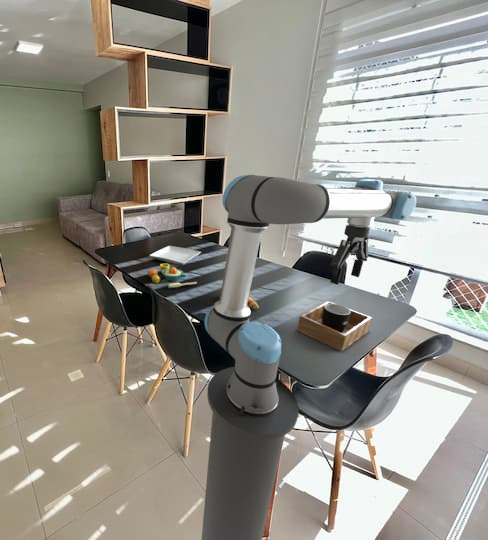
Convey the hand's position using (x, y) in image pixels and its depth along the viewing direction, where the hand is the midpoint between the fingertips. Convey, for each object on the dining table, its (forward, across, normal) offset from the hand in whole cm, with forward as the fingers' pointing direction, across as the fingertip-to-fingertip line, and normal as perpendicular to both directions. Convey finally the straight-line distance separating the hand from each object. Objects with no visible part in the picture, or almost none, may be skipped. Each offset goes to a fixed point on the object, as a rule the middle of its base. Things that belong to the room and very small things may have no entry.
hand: (344, 279), depth 110 cm
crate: (+22, +1, +1) cm, 22 cm away
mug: (+22, +1, +1) cm, 22 cm away
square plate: (+22, +7, -107) cm, 110 cm away
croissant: (+23, +18, -36) cm, 46 cm away
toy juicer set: (+22, +33, -76) cm, 85 cm away
